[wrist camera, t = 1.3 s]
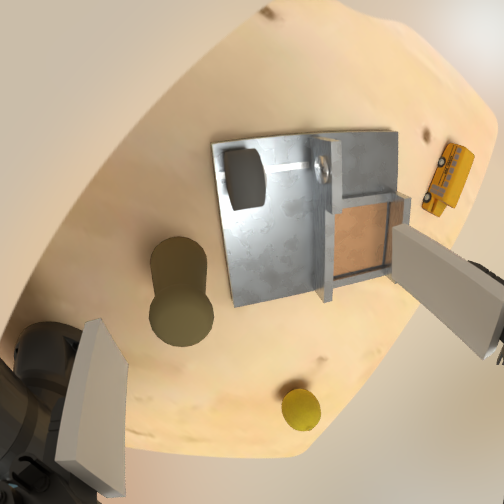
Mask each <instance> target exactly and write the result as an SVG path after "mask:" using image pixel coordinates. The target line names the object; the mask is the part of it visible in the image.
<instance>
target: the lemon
mask: <svg viewBox="0 0 504 504" xmlns="http://www.w3.org/2000/svg"><path fill="white" fill-rule="evenodd" d="M282 414H283V416H284V418H285V420H286V422H287V423H288V424H289V425H290V426H291V427H292V428H293V429H295V430H298V431H310V430H312V428H314V427H315V426H316V425H317V424H318V422H319V420H320V417H321V409H320V405H319V402H318V400H317V399H316V397H315V396H314V395H313V394H312V393H311V392H309V391H308V390H305V389H295V390H291V391H290V392H289V393H288V394H287V395H286V396H285V397H284V399H283V401H282Z"/></svg>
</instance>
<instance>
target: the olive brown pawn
mask: <svg viewBox="0 0 504 504" xmlns="http://www.w3.org/2000/svg"><path fill="white" fill-rule="evenodd" d="M150 266H151V273H152V280H153V286H154V293H155V297H154V299H153V301H152V303H151V305H150V311H149V320H150V324H151V327H152V330H153V331H154V333H155V334H156V335H157V337H158V338H160V339H161V340H162V341H164V342H165V343H167V344H170V345H172V346H178V347H186V346H192V345H194V344H197V343H199V342H200V341H201V340H203V339H204V338H205V337H206V336H207V335H208V333H209V332H210V330H211V328H212V324H213V320H214V314H213V307H212V304H211V302H210V301H209V299H208V297H207V296H206V295H205V290H206V275H207V258H206V254H205V252H204V250H203V248H202V247H201V246H200V245H199V244H198V243H197V242H195V241H193V240H191V239H189V238H184V237H174V238H169V239H167V240H165V241H163V242H161V243H160V244H159V245H158V246H157V247H156V248H155V249H154V251H153V253H152V255H151V261H150Z"/></svg>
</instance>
